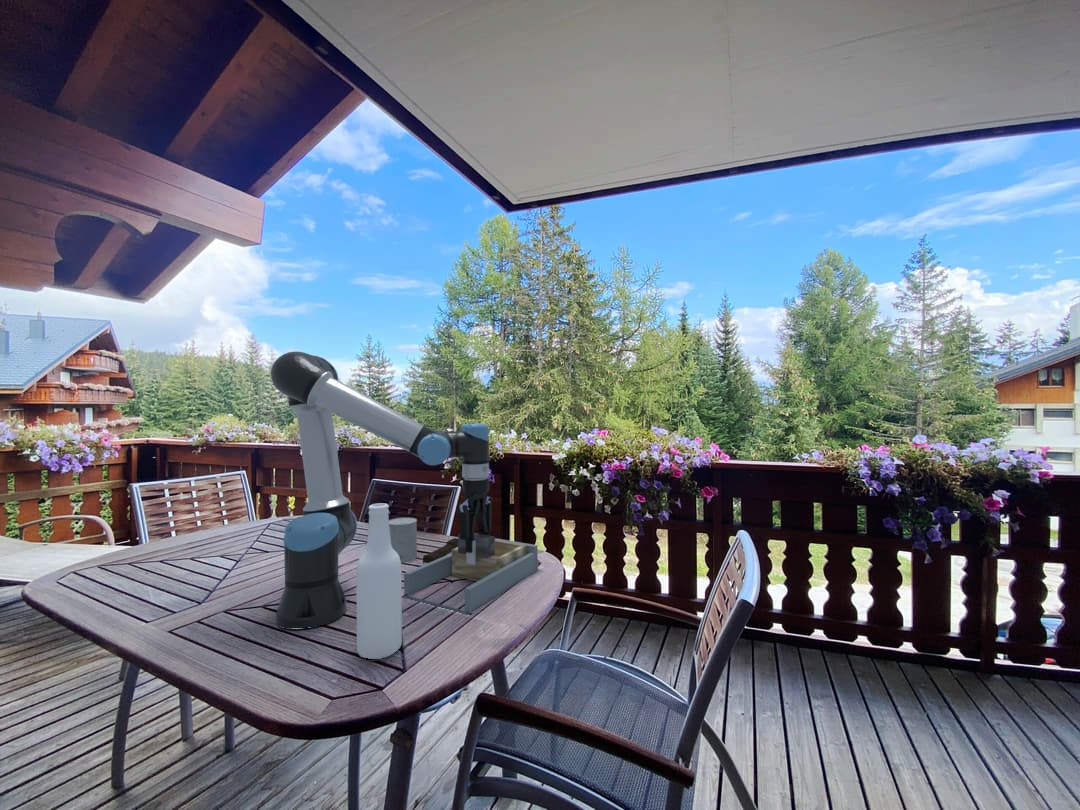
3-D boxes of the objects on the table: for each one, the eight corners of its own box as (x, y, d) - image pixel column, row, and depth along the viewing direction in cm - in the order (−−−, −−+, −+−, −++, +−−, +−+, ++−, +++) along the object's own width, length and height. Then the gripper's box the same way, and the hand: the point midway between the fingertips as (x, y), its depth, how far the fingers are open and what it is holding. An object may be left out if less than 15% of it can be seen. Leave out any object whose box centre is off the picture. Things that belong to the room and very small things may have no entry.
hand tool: (432, 568, 143) (432, 553, 143) (422, 566, 145) (422, 551, 145) (465, 550, 161) (465, 537, 161) (455, 549, 162) (455, 536, 162)
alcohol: (403, 656, 92) (402, 507, 92) (355, 665, 89) (354, 511, 89) (400, 636, 100) (399, 499, 100) (357, 643, 97) (356, 502, 97)
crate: (497, 588, 123) (496, 541, 123) (448, 577, 132) (448, 533, 132) (527, 570, 137) (526, 528, 137) (481, 561, 145) (481, 521, 145)
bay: (470, 616, 109) (470, 581, 109) (404, 598, 120) (404, 565, 120) (537, 573, 137) (537, 545, 137) (478, 561, 148) (478, 535, 148)
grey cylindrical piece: (381, 561, 150) (381, 523, 150) (398, 552, 159) (398, 516, 159) (406, 563, 147) (406, 525, 147) (422, 554, 156) (422, 518, 156)
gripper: (467, 483, 120) (467, 573, 120) (503, 475, 135) (504, 554, 135) (445, 481, 124) (445, 568, 124) (483, 473, 139) (484, 550, 139)
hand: (476, 560), depth 129 cm, fingers closed on crate, 4 cm apart
